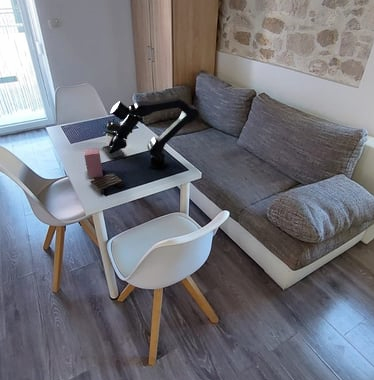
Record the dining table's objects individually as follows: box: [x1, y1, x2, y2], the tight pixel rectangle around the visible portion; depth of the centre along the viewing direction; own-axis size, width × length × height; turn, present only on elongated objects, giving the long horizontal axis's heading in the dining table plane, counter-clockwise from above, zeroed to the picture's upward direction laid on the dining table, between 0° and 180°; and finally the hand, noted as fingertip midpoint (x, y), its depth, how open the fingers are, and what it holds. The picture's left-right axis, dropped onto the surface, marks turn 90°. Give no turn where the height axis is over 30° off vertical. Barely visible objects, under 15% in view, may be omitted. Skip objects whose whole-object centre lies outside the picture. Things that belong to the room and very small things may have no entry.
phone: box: [102, 145, 125, 160], centre depth 177 cm, size 8×1×15 cm
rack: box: [89, 172, 123, 196], centre depth 147 cm, size 12×10×3 cm
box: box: [83, 147, 104, 179], centre depth 153 cm, size 7×6×13 cm
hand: (109, 149), depth 152 cm, fingers open, 9 cm apart
